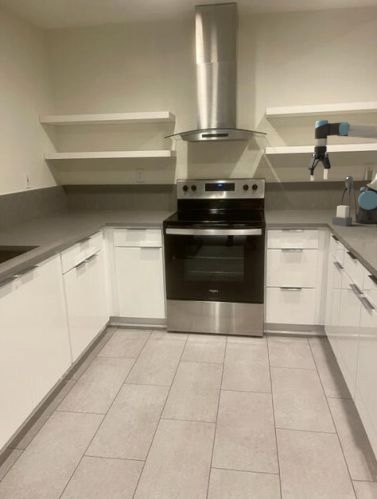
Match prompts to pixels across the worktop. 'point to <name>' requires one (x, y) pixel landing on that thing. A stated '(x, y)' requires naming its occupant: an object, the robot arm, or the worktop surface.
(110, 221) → the worktop surface
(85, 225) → the worktop surface
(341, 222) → the socket block
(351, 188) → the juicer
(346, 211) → the plug
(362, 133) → the robot arm
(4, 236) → the worktop surface
